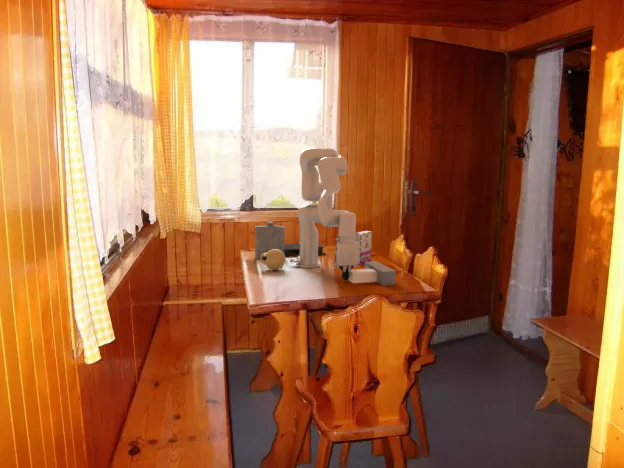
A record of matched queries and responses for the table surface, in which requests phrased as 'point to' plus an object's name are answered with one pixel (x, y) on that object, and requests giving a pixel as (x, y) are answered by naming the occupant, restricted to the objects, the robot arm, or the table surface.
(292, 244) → the diary
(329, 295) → the table surface
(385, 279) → the block
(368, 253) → the candy bar box
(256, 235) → the hip flask
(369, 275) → the white rectangular block
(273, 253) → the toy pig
